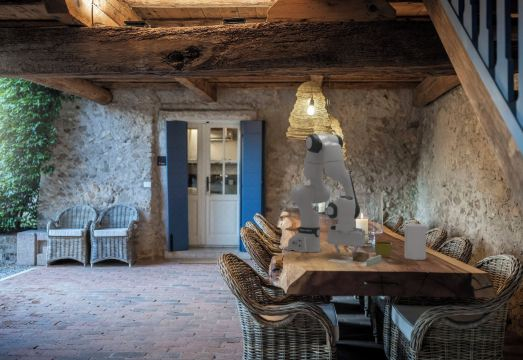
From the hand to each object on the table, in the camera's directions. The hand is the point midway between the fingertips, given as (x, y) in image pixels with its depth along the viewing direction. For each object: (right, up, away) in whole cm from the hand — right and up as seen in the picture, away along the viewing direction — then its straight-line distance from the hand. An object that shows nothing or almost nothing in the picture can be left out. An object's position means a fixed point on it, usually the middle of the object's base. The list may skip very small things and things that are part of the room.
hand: (345, 253), depth 241 cm
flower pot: (+22, -5, +9) cm, 24 cm away
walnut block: (+7, -3, -5) cm, 9 cm away
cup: (+40, -5, +13) cm, 43 cm away
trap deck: (+3, -4, -5) cm, 8 cm away
